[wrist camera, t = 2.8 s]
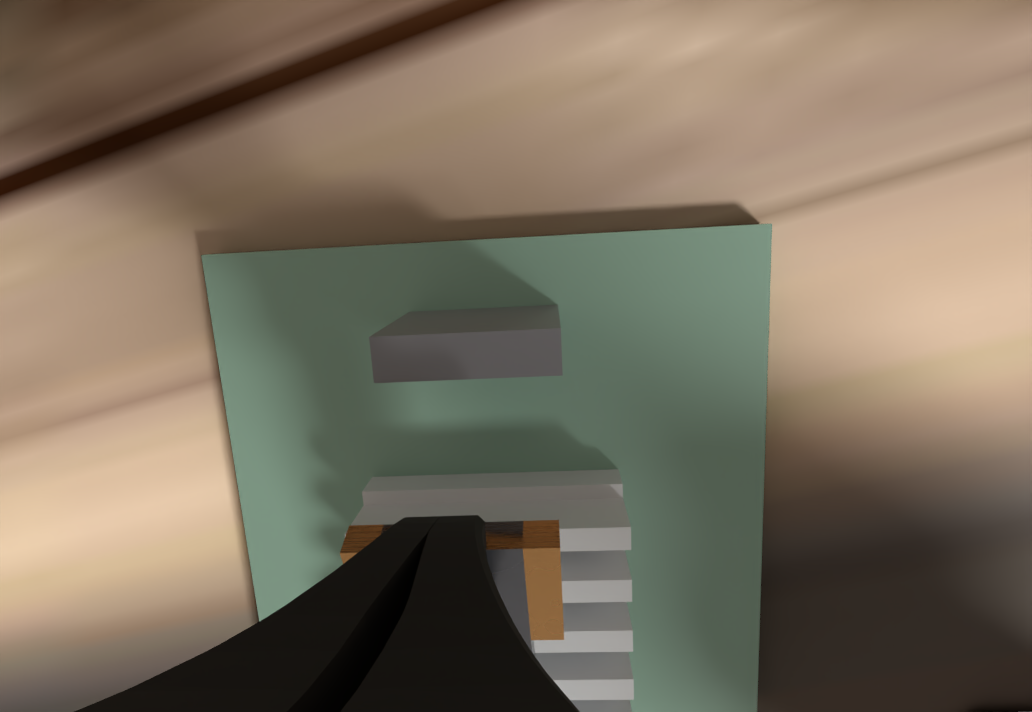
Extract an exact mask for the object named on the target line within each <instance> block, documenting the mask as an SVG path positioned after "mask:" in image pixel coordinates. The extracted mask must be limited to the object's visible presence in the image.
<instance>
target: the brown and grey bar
mask: <svg viewBox="0 0 1032 712" xmlns="http://www.w3.org/2000/svg"><path fill="white" fill-rule="evenodd" d="M393 525H394V524H385V525H349V528H348V530H347V533H346V536H345V539H344V542H343V545H342V548H341V551H340V556H341V559H342V562H343V564H344V563H345V562H346V561H348V560H349V559H350V558H352V557H353V556H354V555H355V554H357V553H358V552H359V551H361V550H362V549H363V548H365V547H366V546H367V545H368V544H370V543H371V542H372V541H373V540H375V539H376V538H377V537H378V536H380V535H381V534H382V533H383V532H385V531H386V530H387V529H389V528H390V527H391V526H393ZM485 529H486V553H487V561H488V564H489V567H490V570H491V573H492V576H493V579H494V582H495V584H496V587H497V589H498V591H499V594H500V596H501V598H502V600H503V602H504V604H505V607H506V609H507V611H508V613H509V615H510V616H511V618H512V620H513V622H514V624H515V626H516V627H517V629H518V631H519V633H520V634H521V636H522V637H523V639H524V641H525V642H526V644H527V645H528V647H529V648H530V650H531V651H532V653H533V654H534V656H535V648H534V640H564V622H563V599H562V576H561V554H560V532H559V520H536V521H498V522H485Z"/></svg>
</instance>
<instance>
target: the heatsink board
mask: <svg viewBox="0 0 1032 712" xmlns="http://www.w3.org/2000/svg"><path fill="white" fill-rule="evenodd" d="M771 239H772V224H749V225H730V226H712V227H694V228H676V229H657V230H639V231H621V232H603V233H584V234H566V235H548V236H530V237H511V238H493V239H475V240H457V241H439V242H420V243H402V244H384V245H366V246H347V247H329V248H311V249H293V250H274V251H256V252H238V253H220V254H207V255H201V257H202V263H203V270H204V276H205V282H206V288H207V295H208V301H209V307H210V314H211V320H212V326H213V333H214V339H215V345H216V352H217V358H218V364H219V370H220V377H221V383H222V389H223V396H224V402H225V408H226V415H227V421H228V427H229V434H230V440H231V446H232V452H233V459H234V465H235V471H236V478H237V484H238V490H239V497H240V503H241V509H242V516H243V522H244V528H245V535H246V541H247V547H248V553H249V560H250V566H251V572H252V579H253V585H254V591H255V598H256V604H257V610H258V617H259V622H260V621H261V620H263V619H264V618H266V617H268V616H269V615H271V614H273V613H274V612H276V611H277V610H279V609H280V608H282V607H283V606H285V605H286V604H288V603H289V602H291V601H292V600H294V599H295V598H296V597H298V596H299V595H301V594H302V593H304V592H305V591H306V590H308V589H309V588H311V587H312V586H314V585H315V584H316V583H318V582H319V581H321V580H322V579H324V578H325V577H326V576H328V575H329V574H331V573H332V572H333V571H335V570H336V569H337V568H339V567H340V566H341V565H343V562H342V559H341V556H340V551H341V548H342V545H343V542H344V539H345V536H346V533H347V530H348V528H349V525H385V524H395V523H397V522H398V521H400V520H401V519H403V518H404V517H429V516H463V515H478V516H479V517H481V518H482V519H483V520H484V521H485V522H498V521H536V520H559V532H560V554H561V576H562V599H563V622H564V640H534V648H535V657H536V658H537V660H538V661H539V663H540V664H541V666H542V667H543V668H544V670H545V671H546V672H547V674H548V675H549V676H550V677H551V678H552V679H553V681H554V682H555V683H556V684H557V685H558V687H559V688H560V689H561V690H562V691H563V692H564V694H565V695H566V696H567V697H568V698H569V700H570V701H571V702H572V703H573V704H574V705H575V707H576V708H577V709H578V710H579V711H580V712H757V697H758V664H759V631H760V599H761V566H762V533H763V501H764V468H765V435H766V403H767V370H768V337H769V305H770V272H771Z"/></svg>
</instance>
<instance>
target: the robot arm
mask: <svg viewBox="0 0 1032 712" xmlns="http://www.w3.org/2000/svg"><path fill="white" fill-rule="evenodd" d="M75 712H580V711H579V710H578V709H577V708H576V707H575V705H574V704H573V703H572V702H571V701H570V700H569V698H568V697H567V696H566V695H565V694H564V692H563V691H562V690H561V689H560V688H559V687H558V685H557V684H556V683H555V682H554V681H553V679H552V678H551V677H550V676H549V675H548V674H547V672H546V671H545V670H544V668H543V667H542V666H541V664H540V663H539V661H538V660H537V658H536V657H535V656H534V654H533V653H532V651H531V650H530V648H529V647H528V645H527V644H526V642H525V641H524V639H523V637H522V636H521V634H520V633H519V631H518V629H517V627H516V626H515V624H514V622H513V620H512V618H511V616H510V615H509V613H508V611H507V609H506V607H505V604H504V602H503V600H502V598H501V596H500V594H499V591H498V589H497V587H496V584H495V582H494V579H493V576H492V573H491V570H490V567H489V564H488V561H487V553H486V529H485V521H484V520H483V519H482V518H481V517H479V516H478V515H463V516H429V517H404V518H403V519H401V520H400V521H398V522H397V523H395V524H394V525H393V526H391V527H390V528H389V529H387V530H386V531H385V532H383V533H382V534H381V535H380V536H378V537H377V538H376V539H375V540H373V541H372V542H371V543H370V544H368V545H367V546H366V547H365V548H363V549H362V550H361V551H359V552H358V553H357V554H355V555H354V556H353V557H352V558H350V559H349V560H348V561H346V562H345V563H344V564H343V565H341V566H340V567H339V568H337V569H336V570H335V571H333V572H332V573H331V574H329V575H328V576H326V577H325V578H324V579H322V580H321V581H319V582H318V583H316V584H315V585H314V586H312V587H311V588H309V589H308V590H306V591H305V592H304V593H302V594H301V595H299V596H298V597H296V598H295V599H294V600H292V601H291V602H289V603H288V604H286V605H285V606H283V607H282V608H280V609H279V610H277V611H276V612H274V613H273V614H271V615H269V616H268V617H266V618H264V619H263V620H261V621H260V622H258V623H256V624H255V625H253V626H251V627H249V628H248V629H246V630H244V631H242V632H241V633H239V634H237V635H235V636H234V637H232V638H230V639H228V640H227V641H225V642H223V643H221V644H220V645H218V646H216V647H214V648H212V649H210V650H208V651H206V652H204V653H202V654H200V655H198V656H196V657H194V658H192V659H190V660H188V661H186V662H184V663H182V664H180V665H178V666H176V667H173V668H171V669H169V670H167V671H165V672H163V673H161V674H159V675H157V676H155V677H153V678H151V679H149V680H147V681H145V682H142V683H140V684H138V685H136V686H134V687H132V688H130V689H127V690H125V691H123V692H120V693H118V694H116V695H113V696H111V697H108V698H106V699H104V700H101V701H99V702H97V703H94V704H92V705H89V706H87V707H85V708H82V709H80V710H77V711H75ZM1020 712H1032V711H1020Z"/></svg>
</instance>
